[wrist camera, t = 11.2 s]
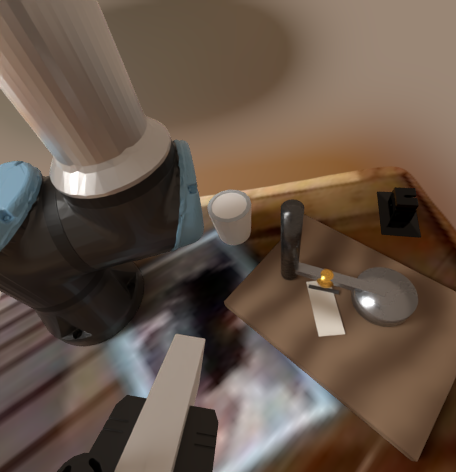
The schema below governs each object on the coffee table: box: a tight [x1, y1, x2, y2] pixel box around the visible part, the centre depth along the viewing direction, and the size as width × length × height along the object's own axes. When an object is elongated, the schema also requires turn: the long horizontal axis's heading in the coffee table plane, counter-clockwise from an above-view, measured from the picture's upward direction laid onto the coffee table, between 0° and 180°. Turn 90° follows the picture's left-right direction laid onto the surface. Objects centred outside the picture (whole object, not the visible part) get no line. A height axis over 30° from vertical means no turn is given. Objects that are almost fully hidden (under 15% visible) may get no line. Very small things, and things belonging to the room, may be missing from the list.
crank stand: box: [224, 214, 456, 461], centre depth 38 cm, size 26×20×2 cm
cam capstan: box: [281, 200, 418, 327], centre depth 33 cm, size 17×7×14 cm, turn 66°
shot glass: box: [208, 190, 251, 245], centre depth 46 cm, size 7×7×7 cm
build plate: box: [377, 188, 421, 237], centre depth 45 cm, size 12×7×5 cm, turn 168°
